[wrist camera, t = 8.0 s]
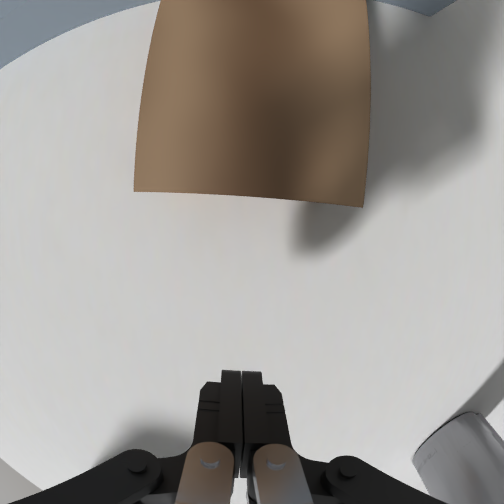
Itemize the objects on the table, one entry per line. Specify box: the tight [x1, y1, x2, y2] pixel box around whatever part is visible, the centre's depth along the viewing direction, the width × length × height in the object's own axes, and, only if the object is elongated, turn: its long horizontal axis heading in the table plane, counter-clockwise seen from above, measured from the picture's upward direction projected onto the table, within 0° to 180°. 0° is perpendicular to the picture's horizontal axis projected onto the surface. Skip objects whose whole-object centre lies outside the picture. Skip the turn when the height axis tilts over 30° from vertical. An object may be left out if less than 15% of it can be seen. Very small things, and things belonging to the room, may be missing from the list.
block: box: [134, 0, 371, 208], centre depth 10 cm, size 8×11×4 cm
